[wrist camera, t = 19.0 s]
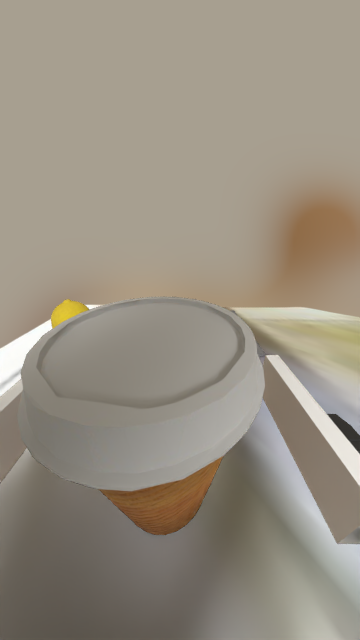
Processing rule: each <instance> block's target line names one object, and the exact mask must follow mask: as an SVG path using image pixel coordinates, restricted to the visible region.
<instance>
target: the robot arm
mask: <svg viewBox="0 0 360 640" xmlns="http://www.w3.org/2000/svg"><path fill="white" fill-rule="evenodd" d="M263 370H264V380H265V388H264V393H263V399H264V401H265V403H266V405H267V407H268V409H269V411H270V413H271V415H272V417H273V419H274V421H275V423H276V425H277V427H278V429H279V431H280V432H281V434H282V436H283V438H284V440H285V442H286V444H287V446H288V448H289V450H290V452H291V454H292V456H293V458H294V460H295V462H296V464H297V466H298V468H299V470H300V472H301V474H302V476H303V478H304V480H305V482H306V484H307V486H308V488H309V490H310V491H311V493H312V495H313V497H314V499H315V501H316V503H317V505H318V507H319V509H320V511H321V513H322V515H323V517H324V519H325V521H326V523H327V525H328V527H329V529H330V531H331V533H332V535H333V537H334V539H335V541H336V543H337V544H360V435H359V434H358V433H357V432H356V431H355V430H354V429H353V428H352V426H351V425H349V424H348V423H347V422H345V421H344V420H343V419H342V418H340V417H339V416H338V415H336V414H326V413H325V411H324V410H323V409H322V408H321V407H320V405H319V404H318V403H317V402H316V401H315V399H314V398H313V397H312V396H311V395H310V393H309V392H308V391H307V390H306V388H305V387H304V386H303V385H302V384H301V382H300V381H299V380H298V379H297V378H296V376H295V375H294V374H293V373H292V371H291V370H290V369H289V368H288V367H287V365H286V364H285V363H284V362H283V361H282V359H281V358H280V357H279V356H278V355H266V356H265V360H264V363H263ZM22 390H23V385H22V379H20V380H19V381H18V382H17V383H16V384H15V385H14V386H12V387H11V388H10V389H9V390H8V391H7V392H5V393H4V394H3V395H2V396H1V397H0V483H1V482H2V481H3V479H4V478H5V477H6V475H7V474H8V472H9V471H10V470H11V468H12V467H13V466H14V464H15V463H16V462H17V460H18V459H19V458H20V456H21V455H22V454H23V452H24V451H25V450H26V448H27V447H26V445H25V444H24V442H23V441H22V439H21V434H20V429H19V424H18V419H17V413H18V408H19V403H20V397H21V392H22Z"/></svg>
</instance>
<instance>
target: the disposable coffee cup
mask: <svg viewBox="0 0 360 640" xmlns="http://www.w3.org/2000/svg"><path fill="white" fill-rule="evenodd" d="M21 378H22V385H23V390H22V392H21V397H20V403H19V408H18V413H17V419H18V424H19V429H20V434H21V439H22V441H23V442H24V444H25V445H26V447H27V448H28V450H29V451H30V453H31V454H32V456H33V457H34V458H35V459H36V460H37V461H38V462H39V463H41V464H42V465H43V466H45V467H46V468H48V469H49V470H50V471H52V472H53V473H55V474H56V475H57V476H59V477H60V478H62V479H65V480H68V481H71V482H74V483H77V484H80V485H84V486H87V487H90V488H93V489H98V490H100V491H101V492H102V493H103V495H105V496H107V498H108V499H109V500H111V501H112V503H113V504H114V505H115V506H117V507H118V508H119V509H120V510H121V511H122V512H123V513H124V514H125V515H127V516H128V518H130V519H131V520H132V521H133V522H134V523H135V524H136V525H137V526H138V527H140V528H141V529H143V530H144V531H146V532H148V533H151V534H154V535H166V534H170V533H173V532H176V531H178V530H179V529H181V528H182V527H184V526H185V525H187V524H188V522H189V521H190V520H191V519H192V518H193V517H194V516H195V514H196V513H197V511H198V509H199V508H200V506H201V504H202V501H203V499H204V497H205V495H206V492H207V490H208V488H209V486H210V485H211V482H212V480H213V477H214V475H215V473H216V471H217V469H218V467H219V465H220V462H221V460H222V458H223V456H224V455H225V454H226V453H227V452H228V451H229V450H230V449H231V448H232V447H233V446H234V445H235V444H236V443H237V442H238V441H239V440H240V439H241V438H242V437H243V436H244V435H245V434H246V433H247V431H248V429H249V427H250V426H251V424H252V422H253V420H254V418H255V417H256V415H257V413H258V411H259V410H260V407H261V402H262V397H263V393H264V388H265V380H264V370H263V366H262V364H261V361H260V359H259V356H258V354H257V344H256V341H255V338H254V334H253V332H252V331H251V329H250V327H249V326H248V325H247V324H246V323H245V322H244V321H243V320H242V319H241V318H240V317H238V316H237V315H236V314H234V313H233V312H231V311H229V310H227V309H225V308H223V307H220V306H218V305H215V304H212V303H209V302H205V301H200V300H196V299H188V298H179V297H147V298H137V299H130V300H123V301H119V302H114V303H110V304H107V305H102V306H99V307H96V308H93V309H90V310H87V311H85V312H82V313H80V314H78V315H76V316H74V317H72V318H70V319H67V320H65V321H63V322H62V323H60V324H59V325H57V326H56V327H55V328H53V329H52V330H50V331H49V332H47V333H46V334H45V335H43V336H42V337H41V338H40V339H39V341H38V342H37V343H36V344H35V345H34V346H33V348H32V349H31V350H30V351H29V352H28V353H27V355H26V358H25V361H24V364H23V367H22V370H21Z"/></svg>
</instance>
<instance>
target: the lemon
mask: <svg viewBox="0 0 360 640" xmlns="http://www.w3.org/2000/svg"><path fill="white" fill-rule="evenodd" d="M87 310H89V308H88V307H87V306H85V305H84V304H82V303H80V302H76V301H71V300H69V299H68V300H64V302H63V303H61V304H60V305H58V306H57V307H56V308H55V309H54V311H53V313H52V316H51V323H52V328H55V327H56V326H57V325H59V324H60V323H62V322H63V321H65V320H67V319H70V318H72V317H74V316H76V315H78V314H80V313H82V312H85V311H87Z"/></svg>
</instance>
